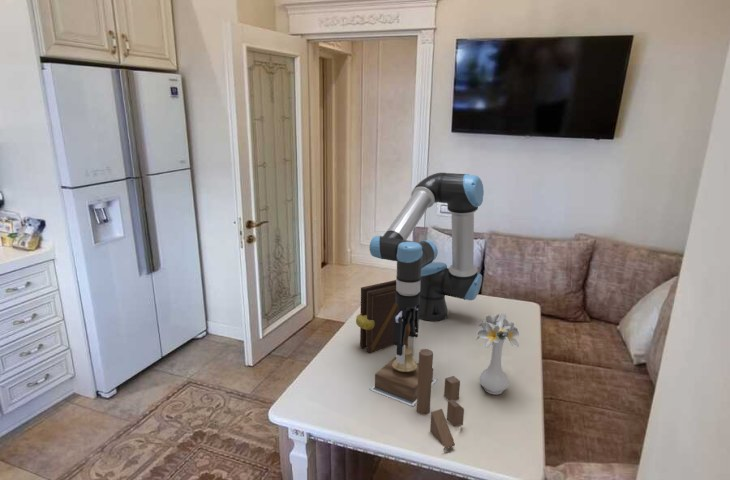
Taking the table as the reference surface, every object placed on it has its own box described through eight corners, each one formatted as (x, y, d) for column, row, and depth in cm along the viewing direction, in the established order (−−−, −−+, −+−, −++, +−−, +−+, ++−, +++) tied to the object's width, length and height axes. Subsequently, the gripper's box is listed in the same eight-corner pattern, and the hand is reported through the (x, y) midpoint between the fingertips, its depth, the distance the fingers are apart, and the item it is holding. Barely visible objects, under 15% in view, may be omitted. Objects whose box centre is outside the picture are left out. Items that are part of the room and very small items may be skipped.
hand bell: (387, 361, 147) (389, 317, 143) (409, 357, 151) (411, 313, 147) (399, 374, 140) (401, 327, 136) (422, 369, 143) (424, 323, 139)
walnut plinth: (395, 368, 156) (396, 356, 155) (432, 381, 149) (433, 368, 148) (374, 387, 145) (375, 373, 144) (413, 402, 138) (413, 388, 136)
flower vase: (510, 376, 154) (517, 308, 148) (515, 407, 137) (523, 333, 131) (471, 371, 157) (477, 304, 151) (471, 401, 140) (477, 328, 133)
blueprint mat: (396, 367, 159) (396, 365, 159) (437, 381, 150) (437, 379, 150) (368, 391, 144) (368, 389, 144) (412, 408, 136) (413, 406, 136)
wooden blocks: (444, 449, 119) (448, 382, 114) (406, 408, 136) (409, 348, 131) (494, 432, 126) (500, 368, 121) (452, 394, 143) (456, 337, 138)
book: (397, 335, 183) (400, 277, 176) (411, 344, 176) (413, 284, 169) (352, 349, 171) (352, 288, 165) (364, 359, 164) (365, 295, 158)
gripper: (411, 281, 148) (408, 344, 154) (382, 298, 133) (380, 367, 139) (431, 285, 145) (428, 350, 150) (404, 303, 129) (401, 375, 135)
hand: (405, 358), depth 145 cm, fingers closed on hand bell, 6 cm apart
